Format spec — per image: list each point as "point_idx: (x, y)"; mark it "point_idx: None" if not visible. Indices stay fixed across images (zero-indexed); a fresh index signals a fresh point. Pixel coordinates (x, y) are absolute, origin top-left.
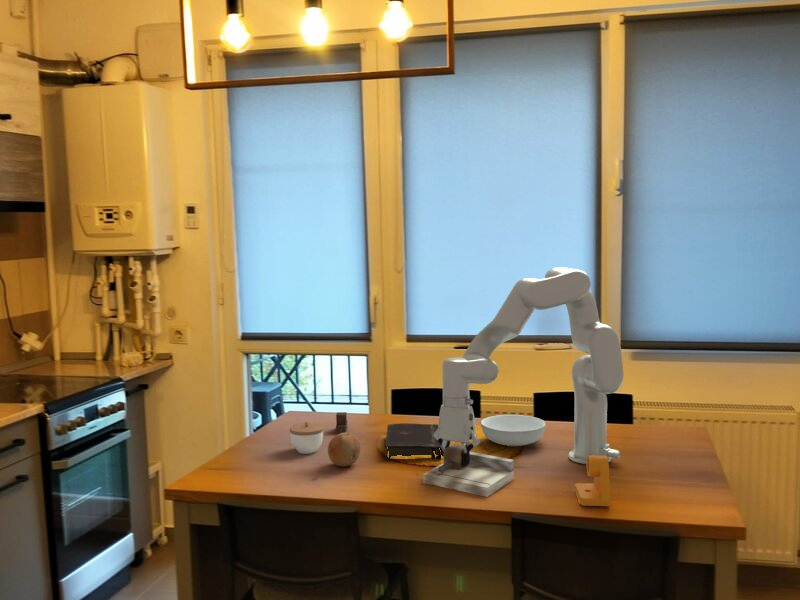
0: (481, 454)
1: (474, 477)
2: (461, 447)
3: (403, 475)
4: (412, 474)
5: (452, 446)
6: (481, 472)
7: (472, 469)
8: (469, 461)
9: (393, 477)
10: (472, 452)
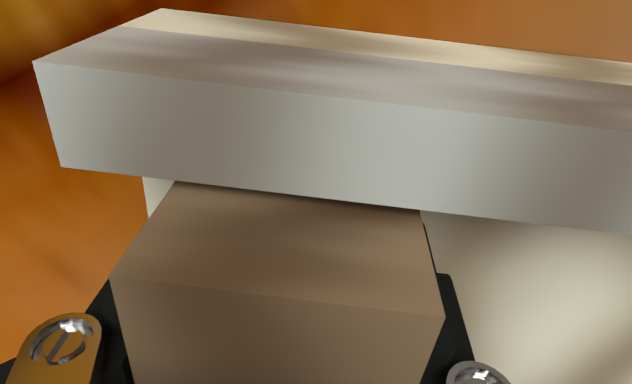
0: (625, 155)
1: (527, 381)
2: (328, 374)
3: (21, 311)
4: (46, 283)
5: (177, 376)
6: (575, 293)
7: (475, 258)
8: (448, 275)
9: (7, 346)
10: (448, 121)
